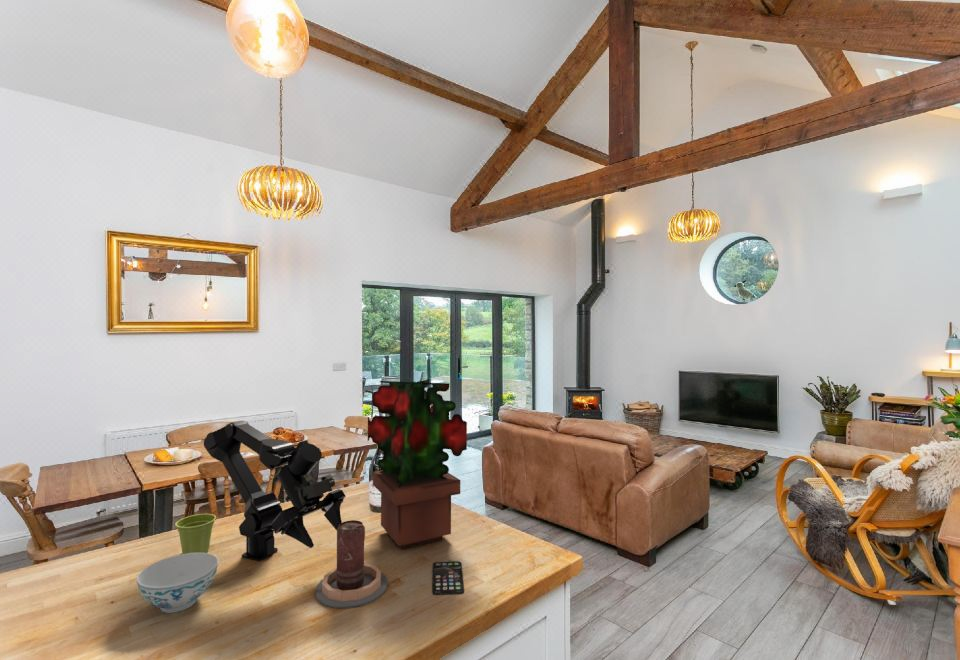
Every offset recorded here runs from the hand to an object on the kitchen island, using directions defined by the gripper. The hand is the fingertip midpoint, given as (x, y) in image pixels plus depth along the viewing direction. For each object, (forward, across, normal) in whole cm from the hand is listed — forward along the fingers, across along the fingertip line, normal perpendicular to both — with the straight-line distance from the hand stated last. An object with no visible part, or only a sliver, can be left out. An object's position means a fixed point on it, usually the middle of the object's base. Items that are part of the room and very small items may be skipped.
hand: (327, 539), depth 113 cm
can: (+12, 0, +1) cm, 12 cm away
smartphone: (+25, +15, -10) cm, 31 cm away
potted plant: (+10, +30, +4) cm, 31 cm away
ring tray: (+12, 0, +1) cm, 13 cm away
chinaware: (-7, -23, +21) cm, 32 cm away
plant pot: (-22, -8, +36) cm, 43 cm away
